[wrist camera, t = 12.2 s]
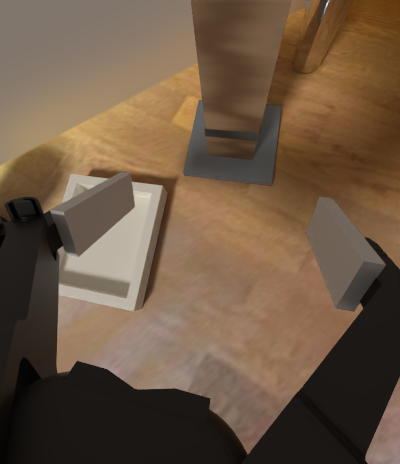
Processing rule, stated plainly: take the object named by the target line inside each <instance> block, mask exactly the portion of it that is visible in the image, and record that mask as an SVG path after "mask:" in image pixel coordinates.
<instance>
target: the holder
mask: <svg viewBox="0 0 400 464" xmlns="http://www.w3.org/2000/svg"><path fill="white" fill-rule="evenodd" d="M105 180H107V178H99V177H91V176H83V175H75V174H71V176H70V179H69V182H68V185H67V188H66V192H65V195H64V198H63V201H62V203H64V202H66V201H68V200H70V199H72V198H73V197H75V196H77V195H79V194H81V193H83V192H85V191H87V190H88V189H90V188H92V187H94V186H96V185H98V184H100V183H102V182H103V181H105ZM132 186H133V194H134V202H135V207H134V208H133V209H132V210H131V211H130V212H129V213H128V214H127V215H125V216H124V217H123V218H122V219H121V220H120V221H119V222H118V223H116V224H115V225H114V226H113V227H112V228H111V229H110V230H109V231H107V232H106V233H105V234H104V235H103V236H102V237H101V238H100V239H98V240H97V241H96V242H95V243H94V244H93V245H92V246H91V247H89V248H88V249H87V250H86V251H85V252H84V253H83V254H82V255H80V256H79V257H75V256H69V255H66V253H65V250H64V248H63V246H62V247H61V248H60V249H58V253H59V255H60V261H59V293H58V295H61V296H66V297H71V298H75V299H80V300H84V301H89V302H93V303H98V304H102V305H107V306H112V307H116V308H121V309H125V310H130V311H136V310H139V309H142V306H143V301H144V297H145V293H146V288H147V284H148V279H149V275H150V270H151V266H152V261H153V257H154V252H155V248H156V243H157V239H158V235H159V230H160V226H161V221H162V217H163V212H164V208H165V203H166V199H167V194H168V193H167V191H166V190H165V188H164V187H163V186H162V185H154V184H146V183H138V182H132Z"/></svg>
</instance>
